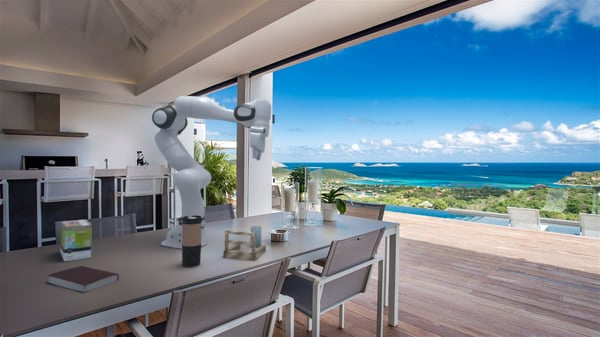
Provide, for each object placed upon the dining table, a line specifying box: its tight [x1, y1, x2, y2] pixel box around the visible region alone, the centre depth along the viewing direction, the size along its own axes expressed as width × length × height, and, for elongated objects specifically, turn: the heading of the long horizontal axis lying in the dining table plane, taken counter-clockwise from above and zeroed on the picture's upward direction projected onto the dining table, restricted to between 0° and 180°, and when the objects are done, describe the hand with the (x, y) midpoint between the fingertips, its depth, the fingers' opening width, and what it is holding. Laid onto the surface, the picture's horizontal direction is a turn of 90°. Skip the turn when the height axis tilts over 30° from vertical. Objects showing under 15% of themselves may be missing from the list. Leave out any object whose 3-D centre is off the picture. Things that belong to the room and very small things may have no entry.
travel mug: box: [181, 215, 202, 268], centre depth 136 cm, size 8×8×20 cm
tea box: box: [59, 219, 93, 262], centre depth 144 cm, size 15×10×15 cm, turn 41°
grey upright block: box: [249, 225, 263, 249], centre depth 166 cm, size 6×6×10 cm
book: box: [47, 265, 120, 293], centre depth 115 cm, size 12×19×3 cm, turn 68°
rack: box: [222, 229, 267, 261], centre depth 152 cm, size 15×15×12 cm
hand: (256, 159), depth 160 cm, fingers open, 8 cm apart
